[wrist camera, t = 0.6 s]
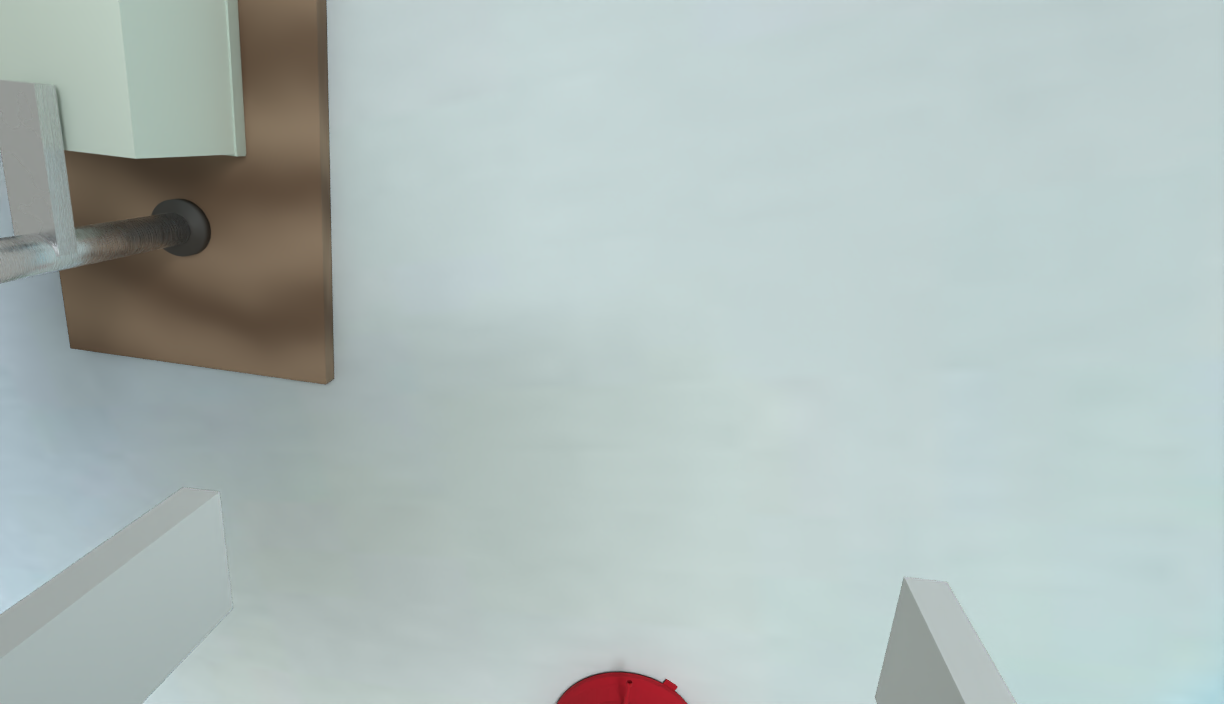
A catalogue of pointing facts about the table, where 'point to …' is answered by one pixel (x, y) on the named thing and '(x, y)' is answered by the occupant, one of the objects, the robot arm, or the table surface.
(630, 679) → the alarm clock
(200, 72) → the pale green block
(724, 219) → the table surface
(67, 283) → the board
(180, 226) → the grey t-shaped stand
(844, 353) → the table surface
